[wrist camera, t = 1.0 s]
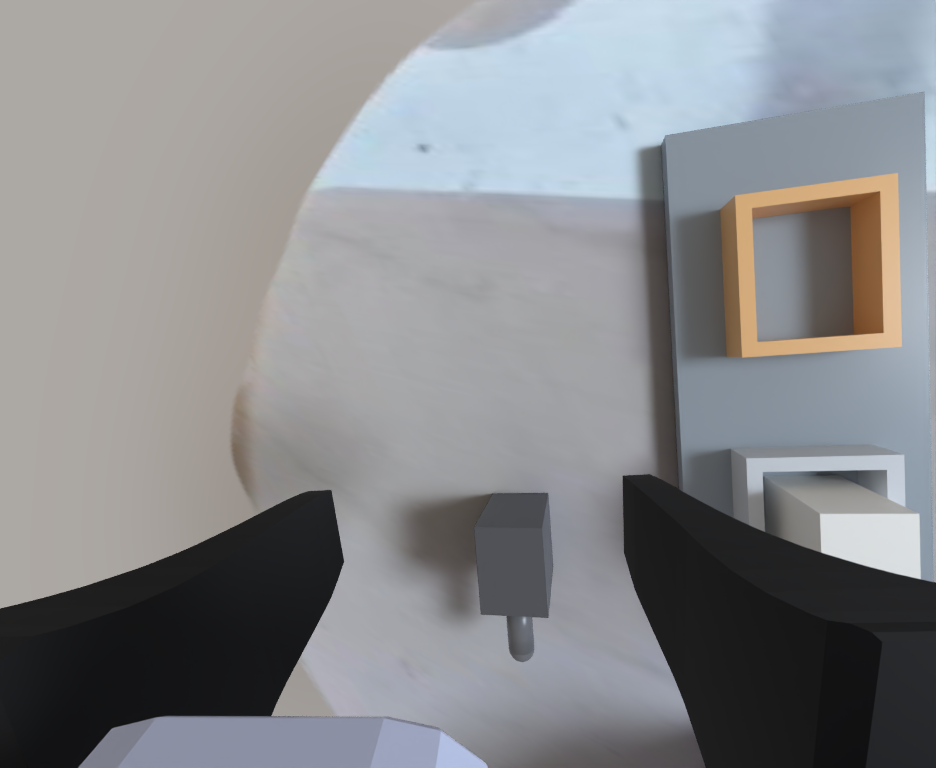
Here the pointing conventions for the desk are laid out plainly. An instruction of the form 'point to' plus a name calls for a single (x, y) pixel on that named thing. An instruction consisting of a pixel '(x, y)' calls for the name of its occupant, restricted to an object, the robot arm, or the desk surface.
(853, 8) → the desk surface
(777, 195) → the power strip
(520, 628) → the dark gray plug
